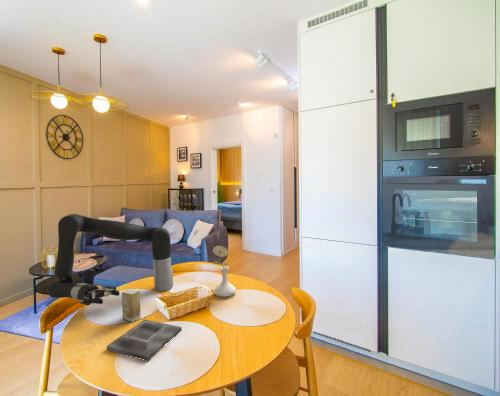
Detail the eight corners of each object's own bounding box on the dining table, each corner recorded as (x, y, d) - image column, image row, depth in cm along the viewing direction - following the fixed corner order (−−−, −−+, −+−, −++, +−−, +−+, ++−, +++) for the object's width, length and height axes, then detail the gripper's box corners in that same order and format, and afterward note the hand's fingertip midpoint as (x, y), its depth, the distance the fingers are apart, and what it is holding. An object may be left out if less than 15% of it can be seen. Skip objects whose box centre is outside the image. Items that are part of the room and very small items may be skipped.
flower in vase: (240, 292, 132) (239, 244, 131) (227, 300, 123) (225, 250, 121) (221, 287, 139) (219, 242, 138) (207, 295, 130) (205, 247, 128)
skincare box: (122, 319, 108) (120, 291, 107) (130, 314, 112) (128, 287, 111) (133, 322, 106) (132, 294, 105) (141, 317, 110) (140, 289, 109)
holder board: (145, 322, 105) (144, 314, 105) (181, 330, 99) (181, 321, 99) (106, 350, 88) (106, 340, 88) (148, 361, 82) (147, 351, 82)
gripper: (68, 290, 111) (95, 295, 105) (98, 279, 124) (123, 283, 119) (69, 307, 111) (96, 313, 106) (99, 293, 125) (124, 298, 119)
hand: (110, 297), depth 112 cm, fingers open, 8 cm apart
